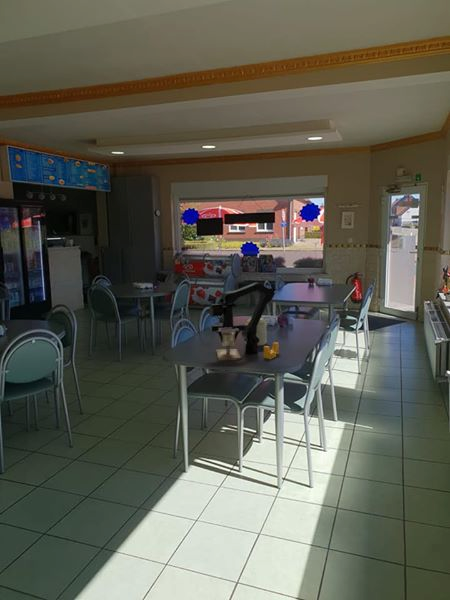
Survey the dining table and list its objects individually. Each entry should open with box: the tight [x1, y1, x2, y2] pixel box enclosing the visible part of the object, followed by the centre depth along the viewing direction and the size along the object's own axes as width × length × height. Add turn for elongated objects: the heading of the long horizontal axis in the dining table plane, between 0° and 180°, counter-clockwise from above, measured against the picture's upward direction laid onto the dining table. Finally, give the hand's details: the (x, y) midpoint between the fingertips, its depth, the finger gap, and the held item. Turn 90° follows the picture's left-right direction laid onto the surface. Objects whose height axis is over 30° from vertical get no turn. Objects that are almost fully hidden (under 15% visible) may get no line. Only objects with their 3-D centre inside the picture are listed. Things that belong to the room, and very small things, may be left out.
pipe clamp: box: [263, 342, 280, 360], centre depth 259 cm, size 12×4×6 cm, turn 145°
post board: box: [215, 346, 242, 361], centre depth 260 cm, size 12×18×6 cm, turn 6°
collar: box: [221, 331, 236, 347], centre depth 259 cm, size 6×6×6 cm
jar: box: [245, 317, 268, 347], centre depth 285 cm, size 13×13×18 cm
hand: (228, 342), depth 259 cm, fingers closed on collar, 6 cm apart
